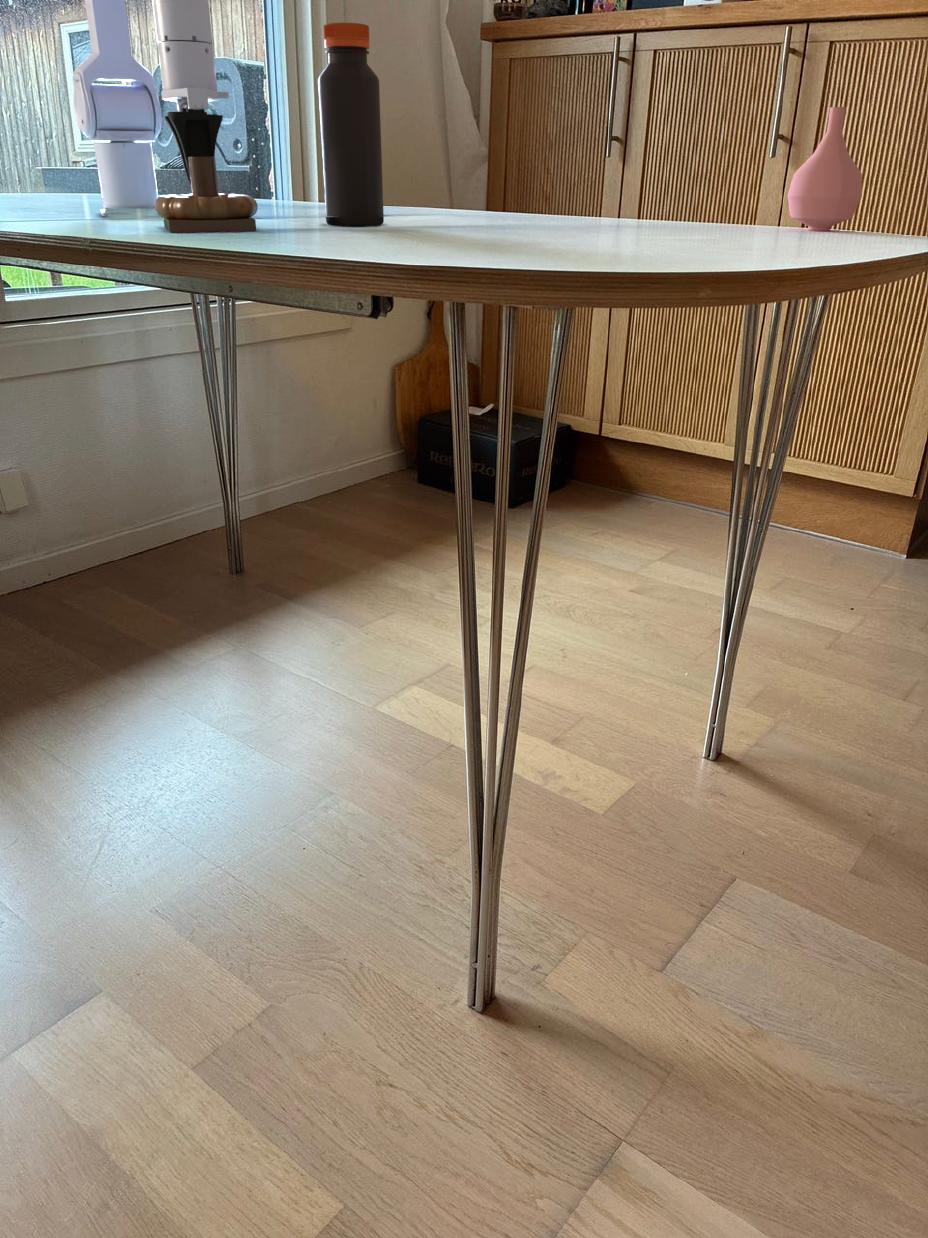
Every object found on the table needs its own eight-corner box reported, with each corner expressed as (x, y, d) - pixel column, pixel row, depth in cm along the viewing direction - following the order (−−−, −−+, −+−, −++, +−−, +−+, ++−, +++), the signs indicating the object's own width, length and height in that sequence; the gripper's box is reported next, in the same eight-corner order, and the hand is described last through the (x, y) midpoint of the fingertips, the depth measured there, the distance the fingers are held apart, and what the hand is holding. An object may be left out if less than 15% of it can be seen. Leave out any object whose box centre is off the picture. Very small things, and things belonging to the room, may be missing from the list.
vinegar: (323, 223, 113) (311, 27, 104) (379, 222, 114) (372, 29, 105) (329, 227, 107) (318, 19, 98) (388, 226, 108) (382, 22, 100)
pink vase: (827, 226, 109) (846, 109, 103) (870, 231, 102) (893, 105, 97) (769, 228, 107) (785, 108, 101) (809, 232, 100) (829, 104, 95)
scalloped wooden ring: (154, 215, 107) (152, 194, 106) (251, 213, 110) (249, 193, 109) (158, 220, 97) (155, 197, 96) (263, 218, 100) (261, 196, 99)
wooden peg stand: (164, 227, 106) (155, 156, 103) (245, 225, 109) (238, 156, 106) (170, 232, 99) (160, 156, 95) (256, 230, 101) (249, 156, 98)
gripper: (232, 38, 95) (245, 186, 101) (216, 51, 107) (228, 182, 113) (159, 35, 92) (177, 186, 99) (151, 48, 105) (168, 183, 111)
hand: (200, 184), depth 106 cm, fingers open, 3 cm apart
